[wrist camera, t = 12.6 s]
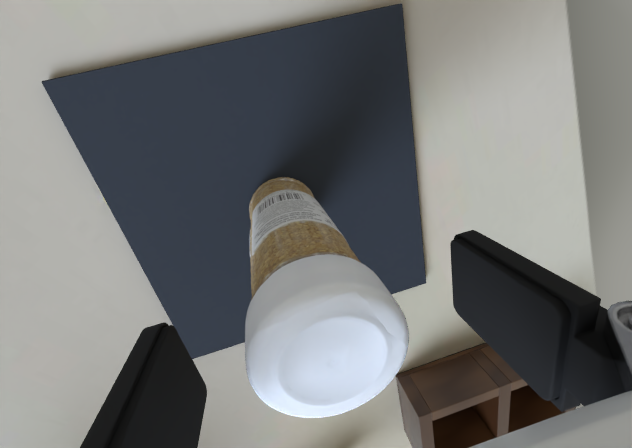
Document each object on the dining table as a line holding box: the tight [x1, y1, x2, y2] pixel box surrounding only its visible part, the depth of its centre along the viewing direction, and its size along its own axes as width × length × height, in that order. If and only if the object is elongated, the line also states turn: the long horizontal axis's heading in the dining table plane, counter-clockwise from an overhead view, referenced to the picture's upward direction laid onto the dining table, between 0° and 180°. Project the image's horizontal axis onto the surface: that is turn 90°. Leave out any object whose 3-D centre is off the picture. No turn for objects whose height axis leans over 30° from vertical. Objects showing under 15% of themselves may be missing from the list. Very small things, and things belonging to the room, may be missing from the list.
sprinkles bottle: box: [245, 177, 409, 418], centre depth 14 cm, size 5×5×14 cm
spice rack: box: [396, 343, 576, 448], centre depth 29 cm, size 17×9×4 cm, turn 101°
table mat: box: [42, 4, 426, 359], centre depth 20 cm, size 20×20×1 cm
